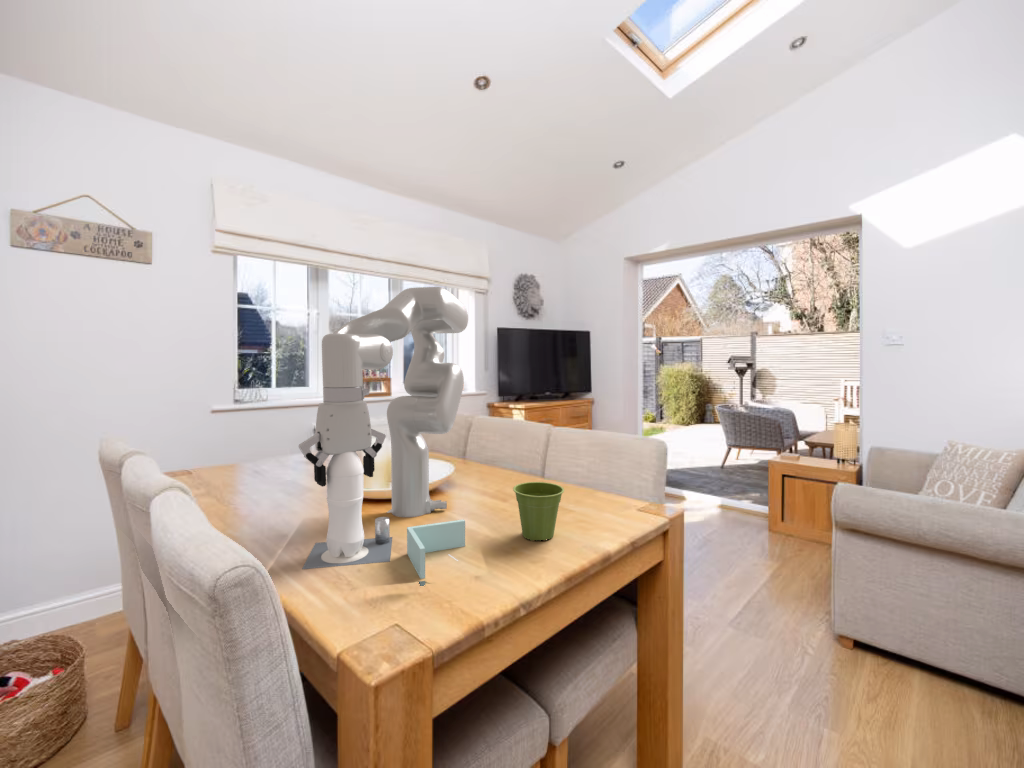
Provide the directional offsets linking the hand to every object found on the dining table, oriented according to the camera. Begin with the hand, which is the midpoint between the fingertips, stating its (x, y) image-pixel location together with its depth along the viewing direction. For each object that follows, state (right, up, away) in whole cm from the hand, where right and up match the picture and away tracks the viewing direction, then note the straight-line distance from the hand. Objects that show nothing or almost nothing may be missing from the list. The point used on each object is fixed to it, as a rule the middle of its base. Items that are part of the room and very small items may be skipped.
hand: (345, 480), depth 93 cm
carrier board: (+1, -16, +1) cm, 17 cm away
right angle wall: (+20, -18, -2) cm, 27 cm away
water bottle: (0, -15, 0) cm, 15 cm away
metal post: (+6, -15, +7) cm, 17 cm away
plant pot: (+40, -16, +14) cm, 45 cm away
